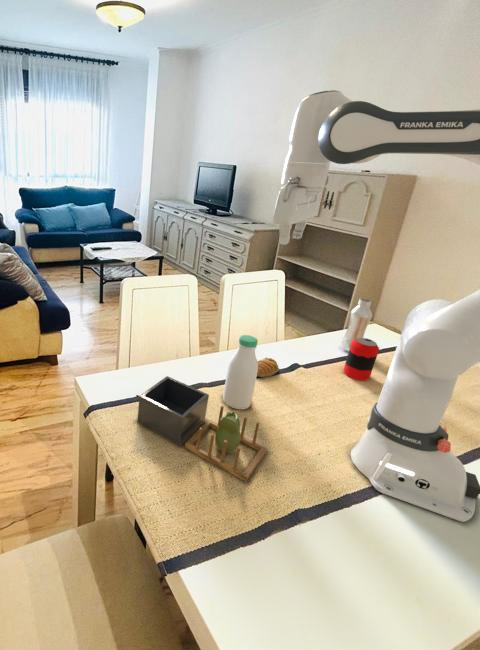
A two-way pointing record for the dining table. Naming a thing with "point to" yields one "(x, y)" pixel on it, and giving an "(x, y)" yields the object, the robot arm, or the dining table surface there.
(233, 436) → the pear
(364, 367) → the soda can
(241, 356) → the milk bottle
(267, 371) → the pastry
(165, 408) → the dark grey open box
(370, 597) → the dining table surface
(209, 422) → the drying rack
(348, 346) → the plastic bottle
